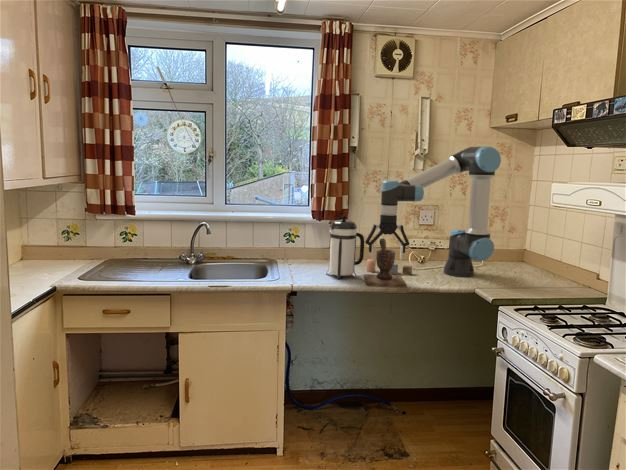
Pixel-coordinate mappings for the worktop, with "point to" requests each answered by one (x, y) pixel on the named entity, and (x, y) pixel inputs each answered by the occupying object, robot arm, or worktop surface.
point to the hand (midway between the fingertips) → (386, 259)
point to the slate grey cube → (394, 269)
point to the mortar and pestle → (385, 261)
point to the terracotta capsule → (371, 265)
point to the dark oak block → (407, 270)
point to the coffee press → (344, 248)
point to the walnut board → (384, 281)
